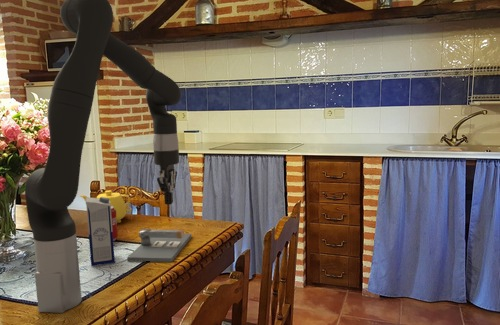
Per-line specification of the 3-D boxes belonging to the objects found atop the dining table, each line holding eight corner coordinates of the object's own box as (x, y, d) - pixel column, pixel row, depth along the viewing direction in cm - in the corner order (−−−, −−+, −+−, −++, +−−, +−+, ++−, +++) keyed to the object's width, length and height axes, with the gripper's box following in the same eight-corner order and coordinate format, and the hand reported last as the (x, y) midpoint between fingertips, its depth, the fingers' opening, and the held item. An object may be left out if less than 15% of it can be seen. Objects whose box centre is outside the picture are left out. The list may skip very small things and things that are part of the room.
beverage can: (112, 243, 146) (109, 210, 144) (95, 242, 147) (93, 209, 145) (121, 237, 152) (119, 205, 150) (105, 237, 153) (103, 205, 151)
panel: (171, 262, 127) (171, 250, 127) (127, 261, 129) (126, 249, 128) (191, 236, 151) (191, 226, 150) (154, 236, 152) (153, 226, 152)
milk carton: (91, 258, 132) (86, 196, 129) (113, 255, 134) (109, 194, 131) (91, 266, 125) (86, 201, 122) (114, 262, 128) (110, 198, 125)
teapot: (132, 223, 170) (130, 192, 169) (79, 228, 165) (76, 196, 163) (131, 214, 183) (130, 186, 182) (83, 219, 178) (80, 189, 176)
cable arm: (181, 239, 136) (180, 232, 136) (137, 238, 138) (137, 232, 138) (184, 235, 140) (184, 228, 140) (142, 234, 142) (141, 228, 142)
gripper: (171, 150, 120) (174, 209, 123) (184, 146, 133) (186, 199, 136) (146, 151, 121) (149, 209, 124) (161, 146, 134) (164, 199, 137)
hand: (169, 203), depth 130 cm, fingers closed
